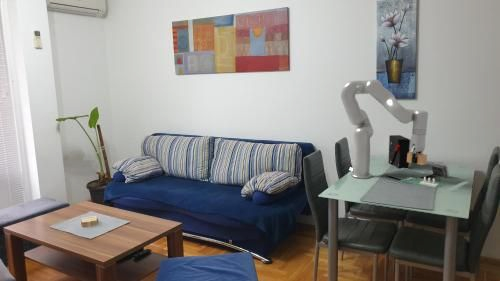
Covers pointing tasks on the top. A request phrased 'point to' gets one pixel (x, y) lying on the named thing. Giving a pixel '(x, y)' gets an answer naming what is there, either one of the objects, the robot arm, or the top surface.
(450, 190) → the top surface
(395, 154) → the electrical component
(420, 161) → the plug housing
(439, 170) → the electrical switch
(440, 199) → the top surface
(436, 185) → the pin header board
